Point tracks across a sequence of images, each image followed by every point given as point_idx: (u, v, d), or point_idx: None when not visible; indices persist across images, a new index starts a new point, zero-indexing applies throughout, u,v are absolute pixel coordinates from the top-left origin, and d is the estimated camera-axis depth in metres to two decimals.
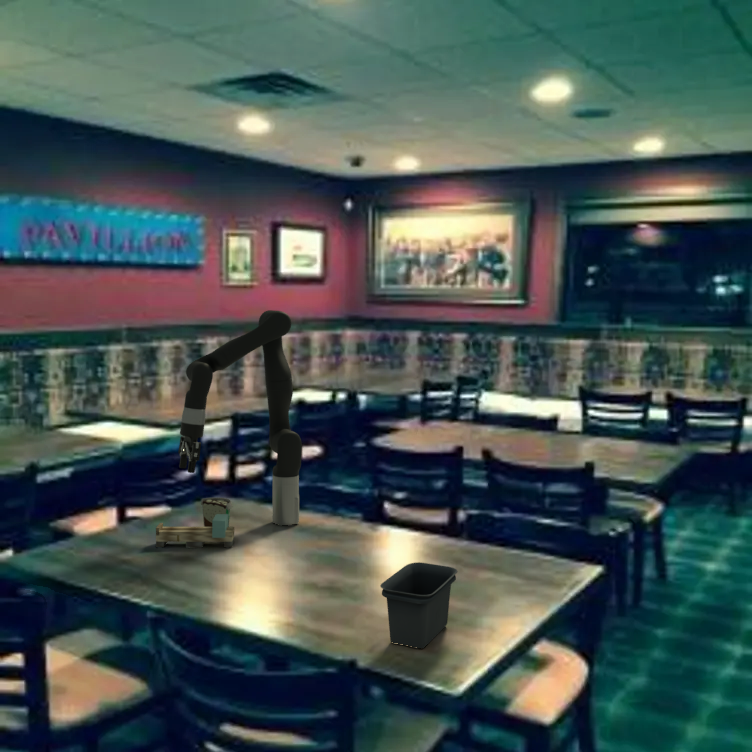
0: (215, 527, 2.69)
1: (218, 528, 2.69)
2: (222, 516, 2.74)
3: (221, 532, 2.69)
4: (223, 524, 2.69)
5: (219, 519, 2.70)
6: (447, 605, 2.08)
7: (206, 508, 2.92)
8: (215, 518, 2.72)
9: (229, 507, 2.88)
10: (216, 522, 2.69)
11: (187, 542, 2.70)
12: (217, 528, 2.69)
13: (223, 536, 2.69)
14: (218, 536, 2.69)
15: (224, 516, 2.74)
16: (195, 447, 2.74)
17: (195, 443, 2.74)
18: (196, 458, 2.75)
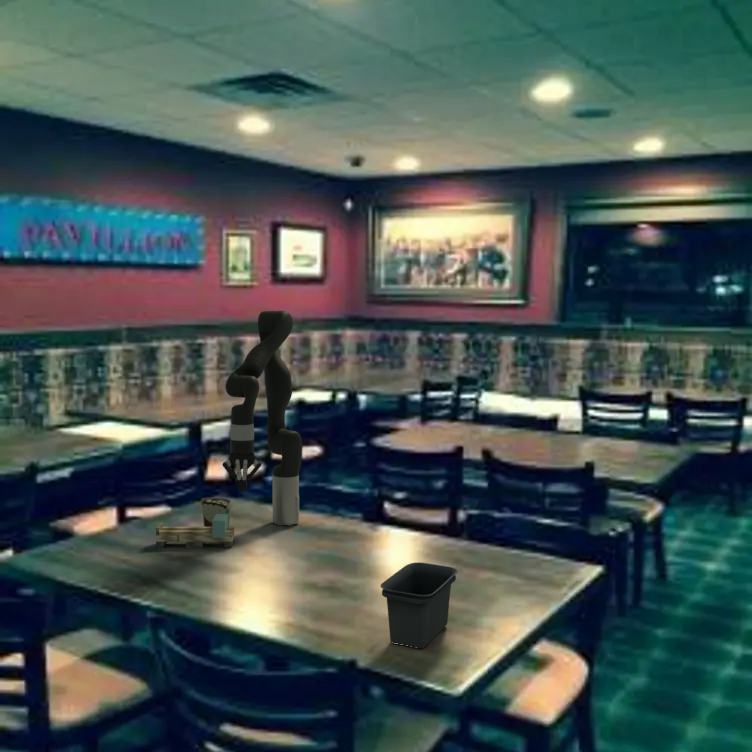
0: (215, 527, 2.69)
1: (218, 528, 2.69)
2: (222, 516, 2.74)
3: (221, 532, 2.69)
4: (223, 524, 2.69)
5: (219, 519, 2.70)
6: (447, 605, 2.08)
7: (206, 508, 2.92)
8: (215, 518, 2.72)
9: (229, 507, 2.88)
10: (216, 522, 2.69)
11: (187, 542, 2.70)
12: (217, 528, 2.69)
13: (223, 536, 2.69)
14: (218, 536, 2.69)
15: (224, 516, 2.74)
16: (258, 468, 2.71)
17: None
18: None
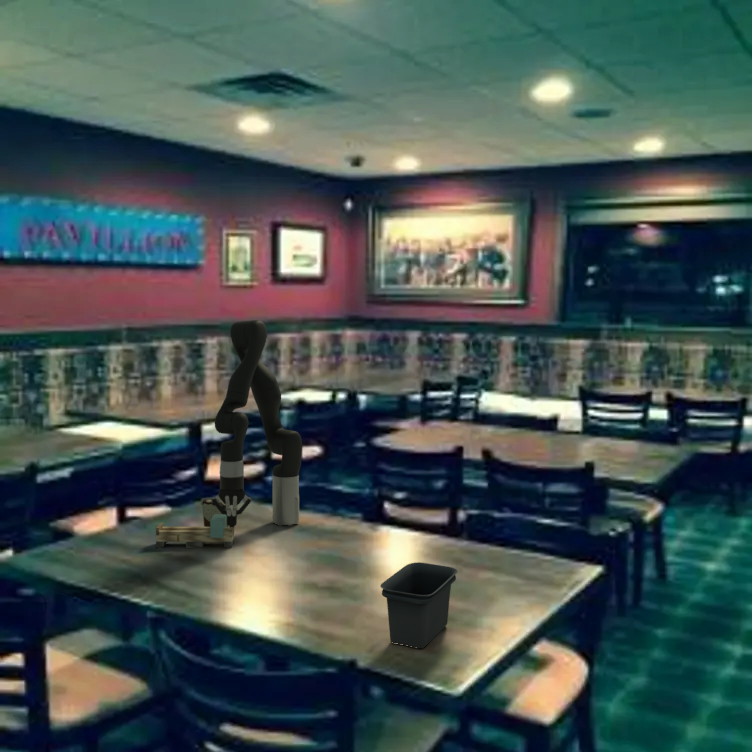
0: (213, 527, 2.69)
1: (216, 528, 2.69)
2: (220, 516, 2.74)
3: (219, 532, 2.69)
4: (221, 524, 2.69)
5: (217, 519, 2.70)
6: (447, 605, 2.08)
7: (206, 508, 2.92)
8: (213, 518, 2.72)
9: None
10: (214, 522, 2.69)
11: (187, 542, 2.70)
12: (215, 528, 2.69)
13: (221, 536, 2.69)
14: (216, 536, 2.69)
15: (222, 516, 2.74)
16: None
17: (250, 501, 2.72)
18: None
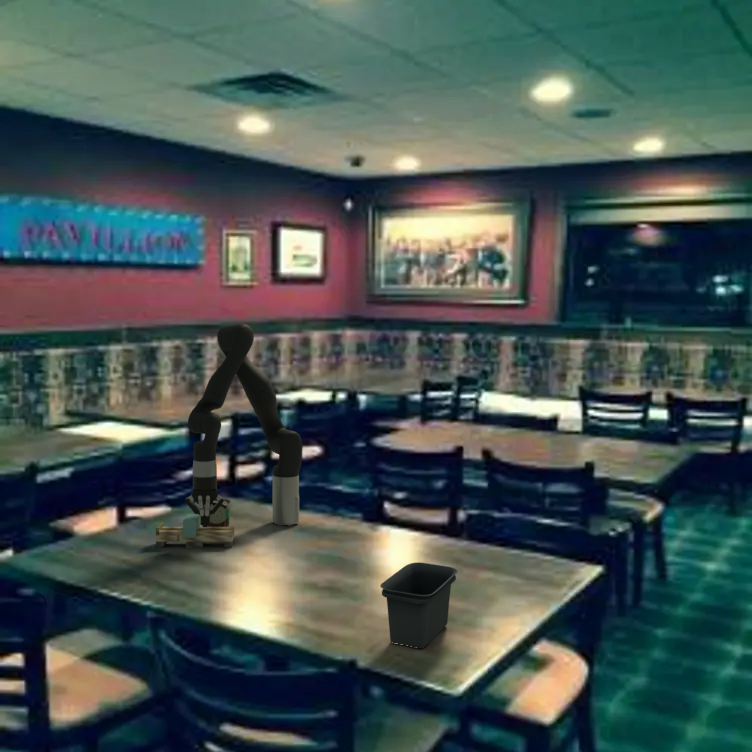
0: (186, 526, 2.69)
1: (189, 528, 2.69)
2: (193, 516, 2.74)
3: (192, 532, 2.69)
4: (194, 524, 2.69)
5: (190, 519, 2.70)
6: (447, 605, 2.08)
7: None
8: (186, 518, 2.71)
9: (229, 507, 2.88)
10: (187, 522, 2.69)
11: (187, 542, 2.70)
12: (188, 528, 2.69)
13: (194, 536, 2.69)
14: (189, 536, 2.69)
15: (195, 516, 2.74)
16: None
17: (223, 500, 2.72)
18: None
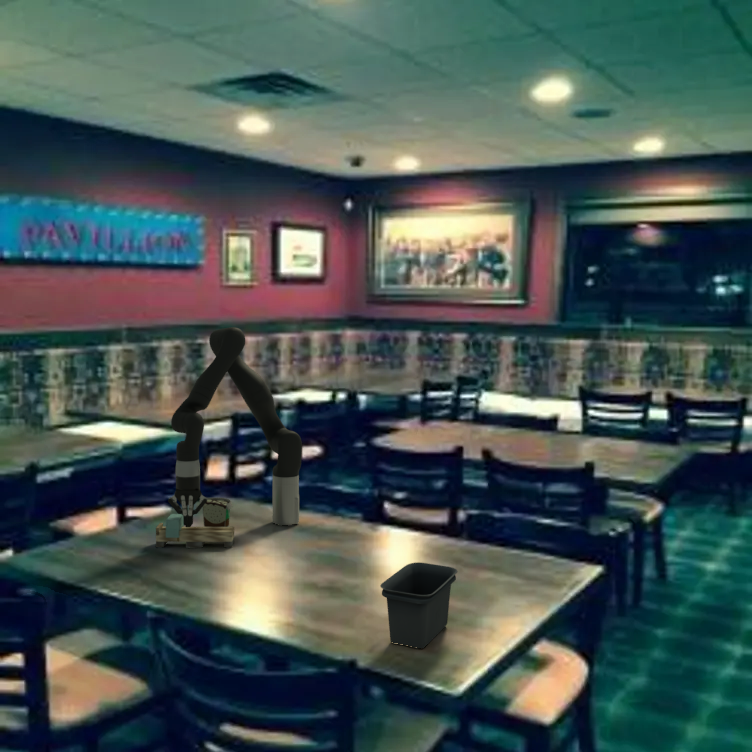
0: (168, 526, 2.69)
1: (172, 528, 2.69)
2: (176, 516, 2.74)
3: (175, 532, 2.68)
4: (177, 524, 2.69)
5: (173, 519, 2.70)
6: (447, 605, 2.08)
7: (206, 508, 2.92)
8: (169, 518, 2.71)
9: (229, 507, 2.88)
10: (170, 522, 2.68)
11: (187, 542, 2.70)
12: (171, 528, 2.69)
13: (177, 536, 2.69)
14: (172, 536, 2.69)
15: (178, 516, 2.74)
16: None
17: (206, 500, 2.71)
18: None
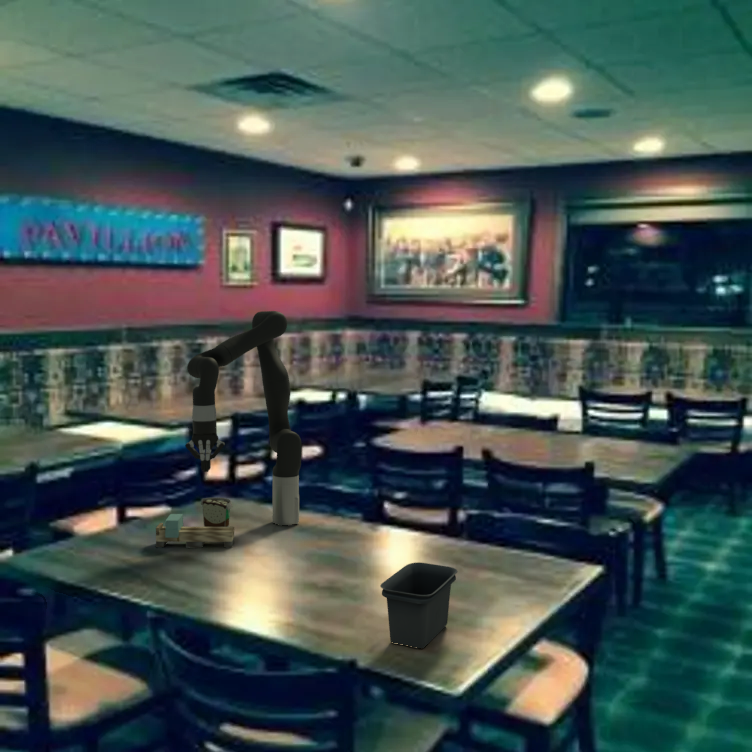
0: (168, 526, 2.69)
1: (171, 528, 2.69)
2: (176, 516, 2.74)
3: (174, 532, 2.68)
4: (176, 524, 2.69)
5: (172, 519, 2.70)
6: (447, 605, 2.08)
7: (206, 508, 2.92)
8: (168, 518, 2.71)
9: (229, 507, 2.88)
10: (169, 522, 2.68)
11: (187, 542, 2.70)
12: (170, 528, 2.69)
13: (176, 536, 2.69)
14: (171, 536, 2.69)
15: (178, 516, 2.74)
16: (221, 448, 2.74)
17: (223, 445, 2.74)
18: None
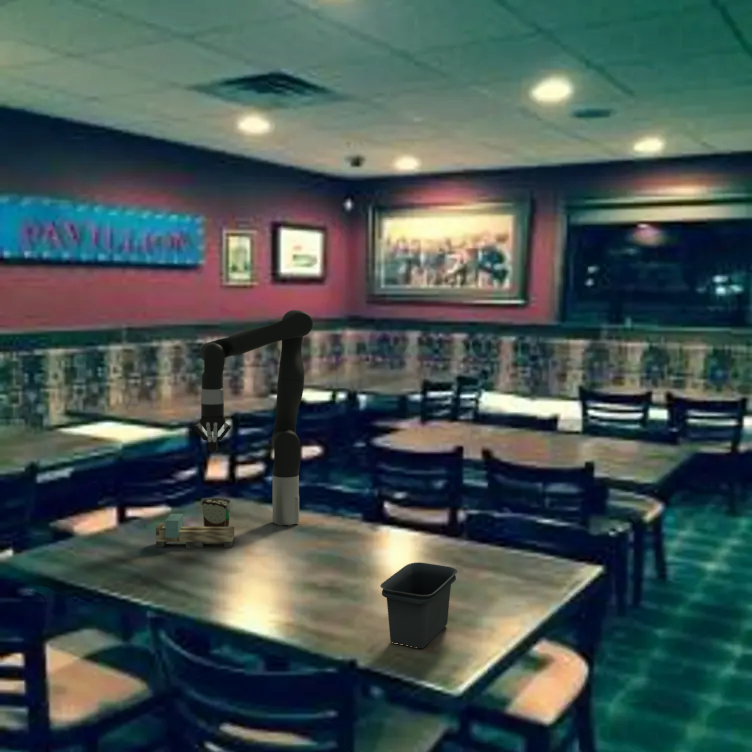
0: (168, 526, 2.69)
1: (171, 528, 2.69)
2: (176, 516, 2.74)
3: (174, 532, 2.68)
4: (176, 524, 2.69)
5: (172, 519, 2.70)
6: (447, 605, 2.08)
7: (206, 508, 2.92)
8: (168, 518, 2.71)
9: (229, 507, 2.88)
10: (169, 522, 2.68)
11: (187, 542, 2.70)
12: (170, 528, 2.69)
13: (176, 536, 2.69)
14: (171, 536, 2.69)
15: (178, 516, 2.74)
16: (228, 430, 2.87)
17: (230, 427, 2.87)
18: None
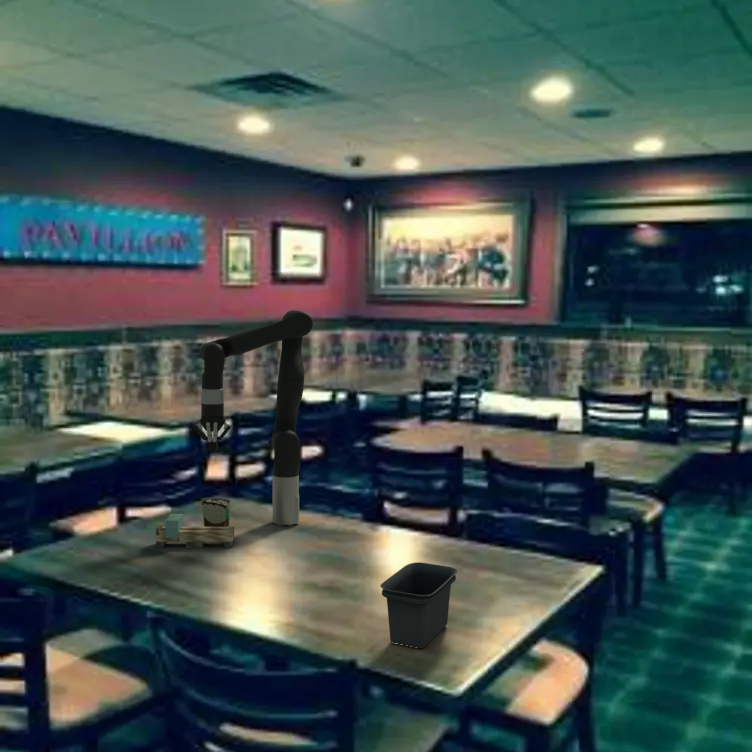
0: (168, 526, 2.69)
1: (171, 528, 2.69)
2: (176, 516, 2.74)
3: (174, 532, 2.68)
4: (176, 524, 2.69)
5: (172, 519, 2.70)
6: (447, 605, 2.08)
7: (206, 508, 2.92)
8: (168, 518, 2.71)
9: (229, 507, 2.88)
10: (169, 522, 2.68)
11: (187, 542, 2.70)
12: (170, 528, 2.69)
13: (176, 536, 2.69)
14: (171, 536, 2.69)
15: (178, 516, 2.74)
16: (228, 430, 2.87)
17: (230, 427, 2.87)
18: None
